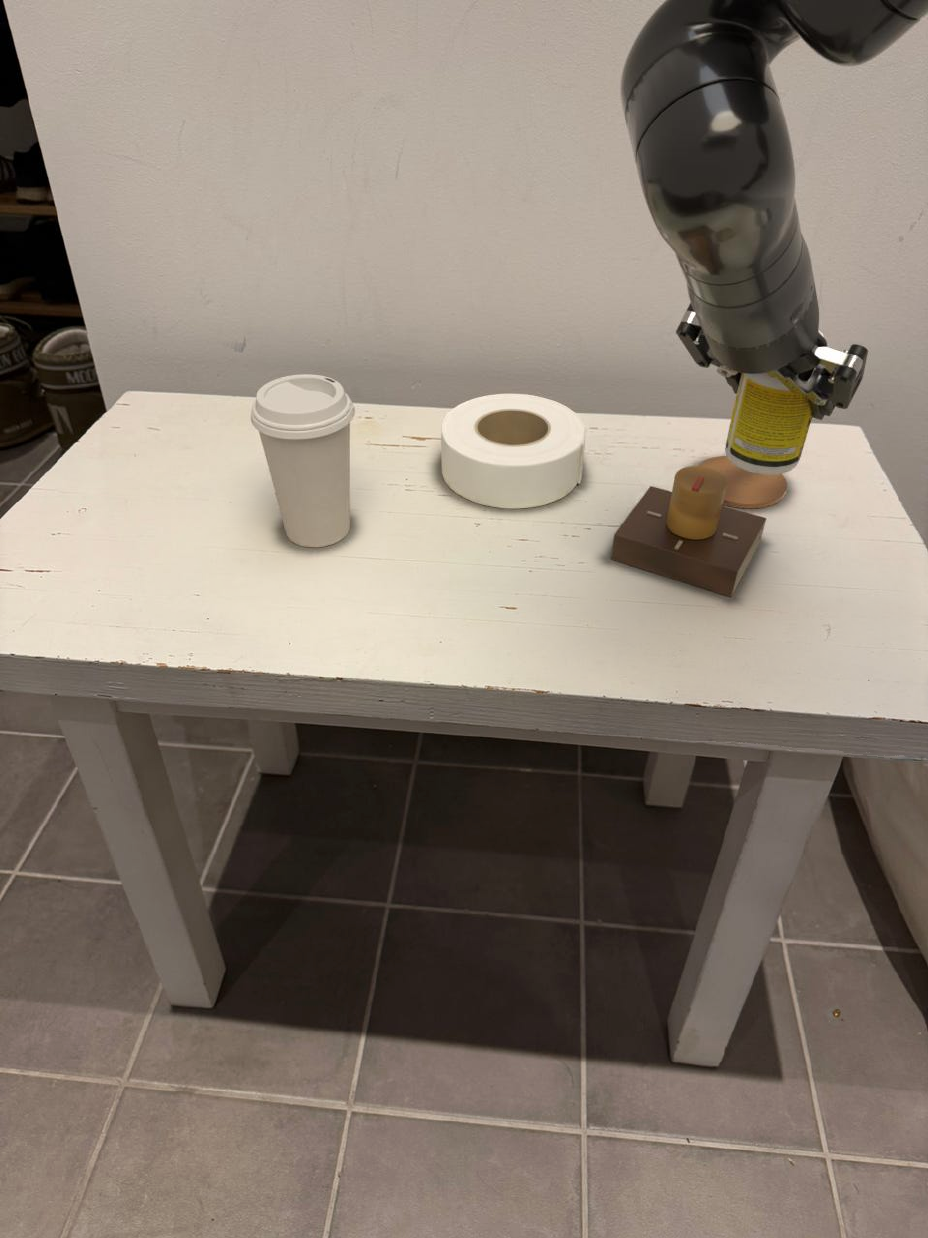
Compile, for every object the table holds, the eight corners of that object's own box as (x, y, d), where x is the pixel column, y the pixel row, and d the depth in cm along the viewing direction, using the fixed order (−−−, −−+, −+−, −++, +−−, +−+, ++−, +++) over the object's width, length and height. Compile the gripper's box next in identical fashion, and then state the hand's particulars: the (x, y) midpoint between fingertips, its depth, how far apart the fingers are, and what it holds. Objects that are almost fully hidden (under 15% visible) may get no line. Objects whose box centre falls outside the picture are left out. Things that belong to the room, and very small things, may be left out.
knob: (674, 507, 86) (683, 458, 83) (722, 519, 85) (733, 470, 81) (660, 531, 83) (669, 482, 79) (709, 544, 81) (721, 495, 78)
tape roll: (573, 517, 90) (578, 470, 87) (426, 499, 93) (425, 453, 89) (588, 443, 102) (593, 400, 98) (457, 430, 104) (457, 386, 101)
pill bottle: (810, 475, 72) (850, 346, 65) (739, 480, 71) (771, 350, 64) (780, 438, 77) (813, 315, 69) (713, 443, 76) (739, 318, 69)
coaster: (795, 474, 97) (797, 469, 96) (772, 518, 90) (774, 513, 90) (708, 452, 100) (709, 447, 100) (680, 492, 94) (681, 487, 94)
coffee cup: (378, 541, 87) (368, 404, 77) (287, 566, 84) (264, 426, 74) (345, 495, 93) (332, 362, 84) (259, 516, 90) (234, 382, 80)
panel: (760, 542, 87) (767, 516, 85) (731, 597, 80) (738, 570, 78) (646, 509, 91) (650, 484, 89) (610, 559, 85) (614, 532, 83)
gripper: (889, 263, 53) (892, 379, 68) (680, 219, 60) (724, 332, 75) (833, 374, 54) (847, 465, 68) (631, 317, 61) (684, 411, 75)
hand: (782, 395), depth 72 cm, fingers closed on pill bottle, 6 cm apart
